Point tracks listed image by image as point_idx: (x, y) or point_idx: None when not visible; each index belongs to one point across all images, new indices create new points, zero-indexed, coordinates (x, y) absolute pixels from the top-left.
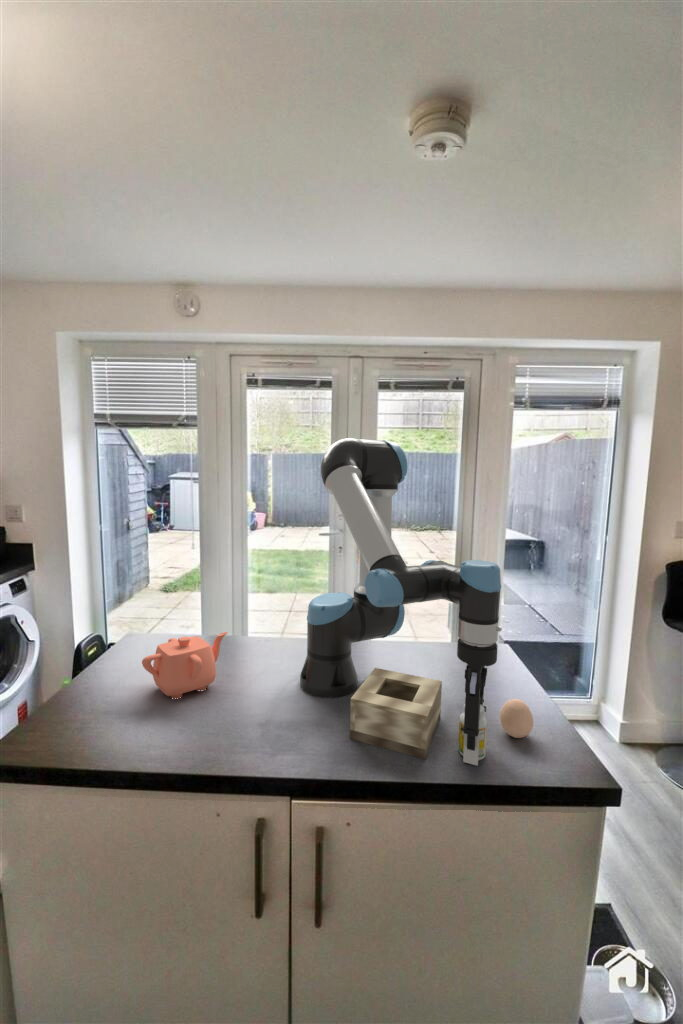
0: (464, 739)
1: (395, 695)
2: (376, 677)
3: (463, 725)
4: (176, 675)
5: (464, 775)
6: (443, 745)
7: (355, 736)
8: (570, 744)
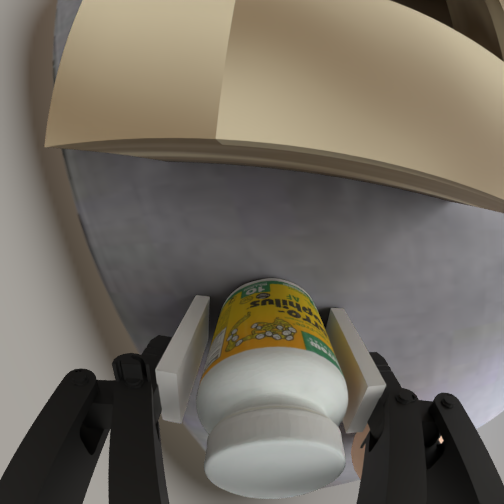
0: (170, 341)
1: (468, 24)
2: None
3: (215, 364)
4: None
5: (139, 295)
6: (282, 218)
7: None
8: (356, 475)
